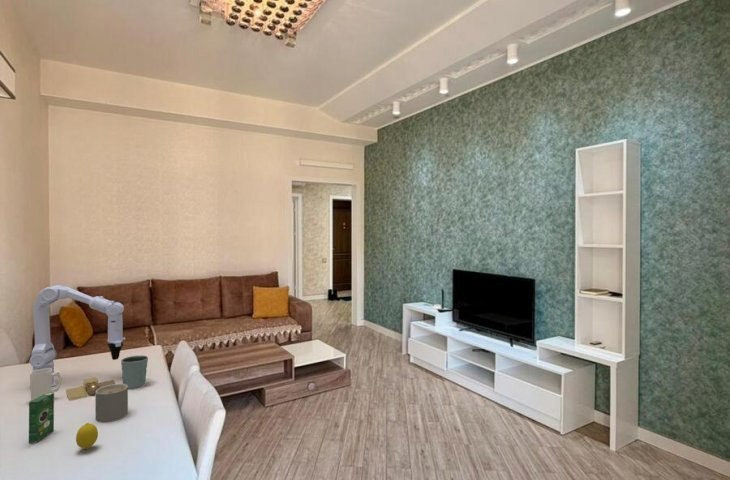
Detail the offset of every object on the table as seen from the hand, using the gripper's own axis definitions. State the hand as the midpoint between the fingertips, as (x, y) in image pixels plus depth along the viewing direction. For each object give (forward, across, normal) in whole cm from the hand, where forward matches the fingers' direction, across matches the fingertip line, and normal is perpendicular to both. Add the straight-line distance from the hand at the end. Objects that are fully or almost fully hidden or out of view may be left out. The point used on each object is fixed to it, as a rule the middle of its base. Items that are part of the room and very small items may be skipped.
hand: (115, 359), depth 180 cm
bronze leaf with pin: (+9, -9, +7) cm, 15 cm away
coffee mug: (+10, -40, +8) cm, 42 cm away
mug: (+10, -8, +25) cm, 28 cm away
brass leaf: (+9, -9, +13) cm, 18 cm away
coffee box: (+10, -44, +28) cm, 53 cm away
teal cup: (+10, -14, -5) cm, 18 cm away
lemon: (+10, -63, +18) cm, 66 cm away
